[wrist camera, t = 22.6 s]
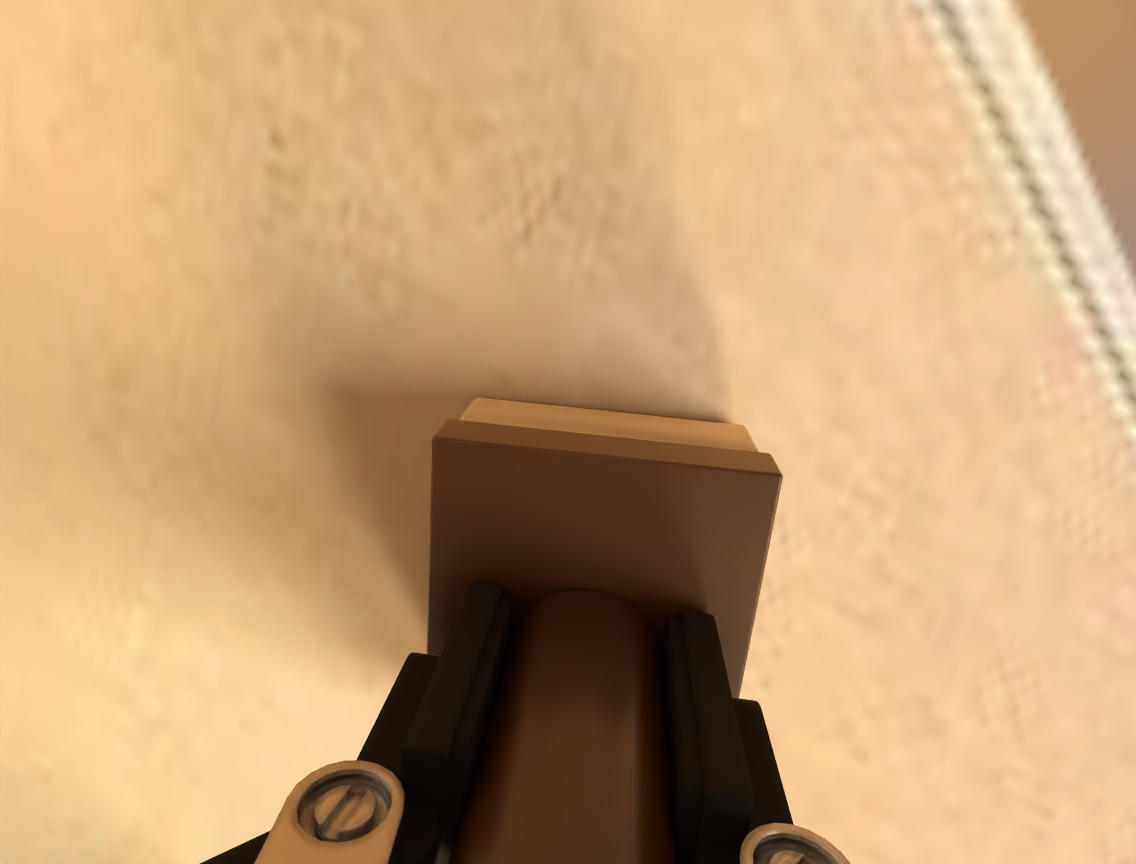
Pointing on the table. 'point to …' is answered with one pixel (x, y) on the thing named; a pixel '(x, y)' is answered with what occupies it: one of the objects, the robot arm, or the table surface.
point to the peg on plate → (590, 609)
